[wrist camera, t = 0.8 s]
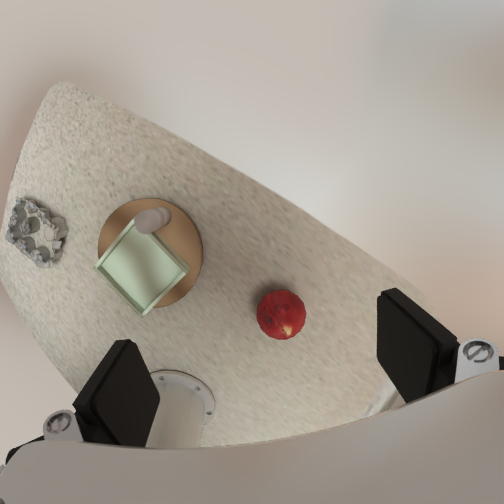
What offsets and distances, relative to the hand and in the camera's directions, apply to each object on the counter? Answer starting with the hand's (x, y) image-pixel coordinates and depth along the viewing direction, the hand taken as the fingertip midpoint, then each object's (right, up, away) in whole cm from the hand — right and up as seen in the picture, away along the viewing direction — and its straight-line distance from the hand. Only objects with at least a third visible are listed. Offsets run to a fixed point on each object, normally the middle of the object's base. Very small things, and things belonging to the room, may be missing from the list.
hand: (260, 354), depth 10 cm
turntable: (-13, +4, +23) cm, 27 cm away
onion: (+3, -3, +27) cm, 27 cm away
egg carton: (-31, +7, +24) cm, 40 cm away
